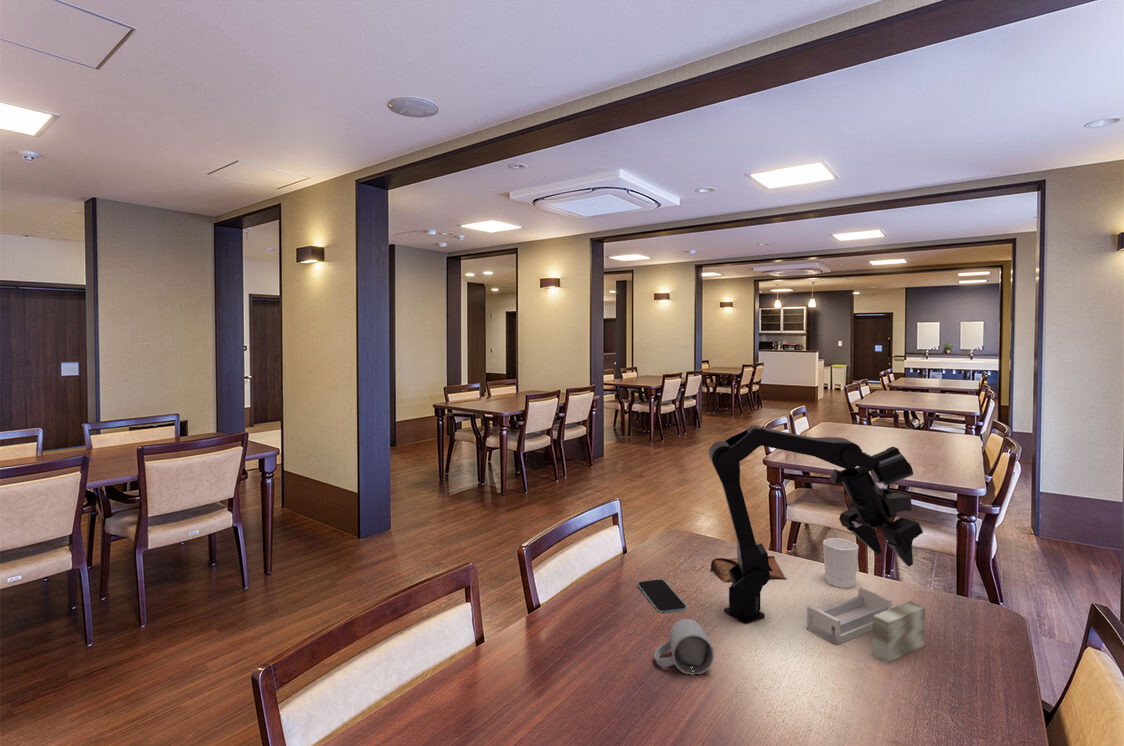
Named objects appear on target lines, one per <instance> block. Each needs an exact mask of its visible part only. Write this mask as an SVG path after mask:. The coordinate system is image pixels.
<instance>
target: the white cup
mask: <svg viewBox="0 0 1124 746" xmlns="http://www.w3.org/2000/svg"><path fill="white" fill-rule="evenodd" d="M822 543H823V566H824V577H825V578H824V579H825V582H826V583H828V584H829V585H831V586H834V587H836V588H842V589H851V588H854V587H855V586H856V581H857V580H856V576H857V571H858V570H857V569H858V559H859V558H858V557H859V545H858V544H857V543H856V542H854V541H851V540H849V539H844V538H837V537H834V538H832V537H829V538H826V539H824V540H823V542H822Z"/></svg>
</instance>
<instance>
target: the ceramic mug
mask: <svg viewBox="0 0 1124 746" xmlns="http://www.w3.org/2000/svg"><path fill="white" fill-rule="evenodd" d="M669 650H671V656H668V657H664V658H661V656H662V655H663V654H664V653H665V652H667V651H669ZM714 656H715V654H714V647H713V646H712V643H711V641H710V638H709V637H708V635H707V632H706V631H705V629H704V627H703V626H702V625H701V624H700V623H699V622H697V621H695V620H694V619H691V618H683V619H682V618H681V619H679V620H678V621H676V622H674V624H673V625H672V626H671V628H670V631H669V640H667V641H665V642H664V643H662V644H661V645H658V647H657V648H656V649H655V650H654V653H653V658H654V661H655V662H657V663H656V664H657V666H659V667H660V668H661V667H662V668H667V667H670V666H675V667H676V668H677V669H678V670H679V671H680V672H682V673H683V674H686V675H688V674H699V675H701V674H704V673H705V672H707V671H708V670H709V669H710V668H711V667H712V664H713V662H714ZM692 666H693V668H692V669H691V668H690V667H692ZM692 670H693V671H694V670H695V671H694V672H692Z"/></svg>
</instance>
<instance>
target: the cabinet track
mask: <svg viewBox="0 0 1124 746" xmlns="http://www.w3.org/2000/svg"><path fill="white" fill-rule="evenodd" d="M892 605H893V601H892V599H890V598H888V597H885V596H883V595H880V594H878V593H876V592H874V591H871V590H868V589H866V588H864V587H859V588H858V596H856V597H853V598H850V599H847V600H845V601H841V602H839V603H836V604H833V605H829V606H828V607H825V608H823V609H819V608H817V607H815V606H814V605H812V604H810V605H807V607H806V608H807V613H806V614H807V615H806V618H807V621H806V622H807V623H806V629H807V630H808V631H810V632H811V633H814V634H816V635H818V636H819V637H820V638H824V640H827V641H828V642H831V643H833V644H834V645H836V646H838V645H841V644H844V643H845V642H848V641H850V640H852V639H855V638H857V637H860V636H862V635H865V634H867V633H869V632H873V616H874V615H876V614H879V613H881V612H884V611H886V610H889V609H891V608H893V607H892Z"/></svg>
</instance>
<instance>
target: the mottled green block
mask: <svg viewBox="0 0 1124 746" xmlns="http://www.w3.org/2000/svg"><path fill="white" fill-rule="evenodd" d="M925 627H926V607H925V606H923V605H921V604H918V603H915V602H913V601H911V600H910V601H907V602H905V603H901V604H899V605H897V606H894V607H892V608H891V609H889V610H886V611H884V612H881V613H879V614H876V615H874V616H873V630H872V652H871V654H872V656H873V657H875V658H878V659H880V660H881V661H883V662H885V663H886V664H887V663H890V662H892V661H894V660H896V659H898V658H902V657H903V656H906V655H907V654H910V653H911V652H914V651H916V650H918V649H920V648H922V647H925V634H926V633H925V632H926V631H925V629H926V628H925Z"/></svg>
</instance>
